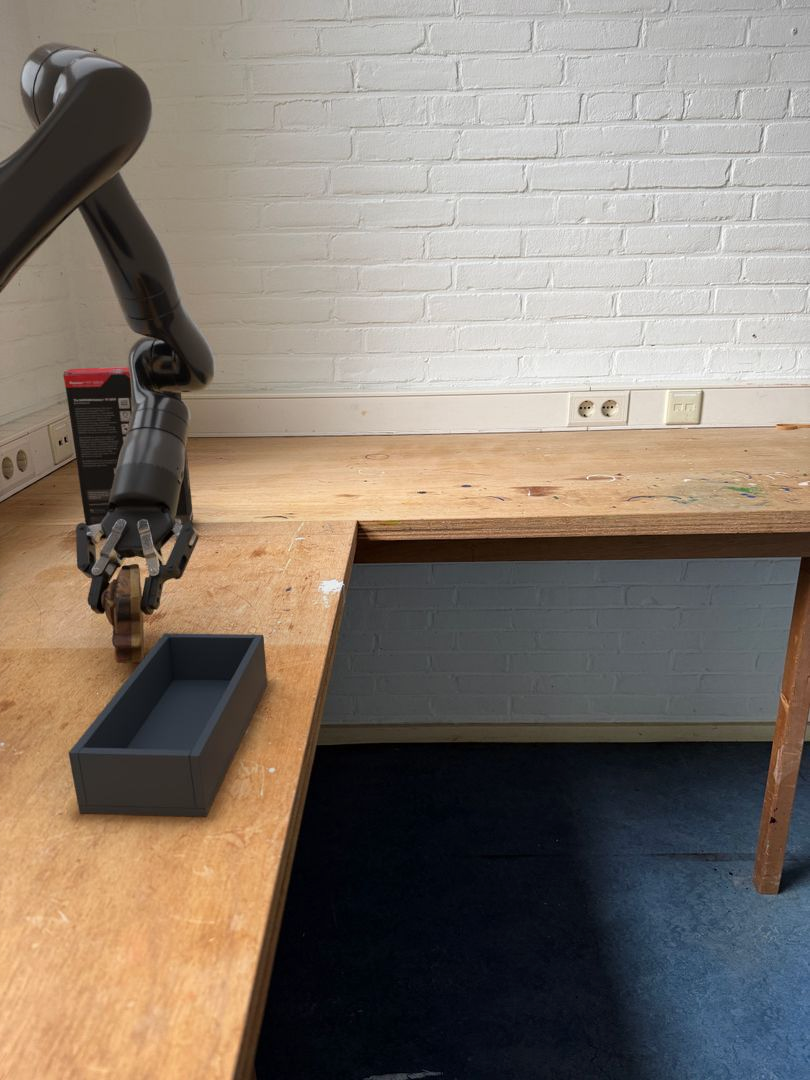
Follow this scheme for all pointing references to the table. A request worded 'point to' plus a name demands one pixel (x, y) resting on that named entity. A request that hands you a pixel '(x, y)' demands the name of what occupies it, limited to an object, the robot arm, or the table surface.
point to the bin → (171, 727)
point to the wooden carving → (125, 614)
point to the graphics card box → (106, 437)
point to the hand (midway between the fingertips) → (122, 611)
